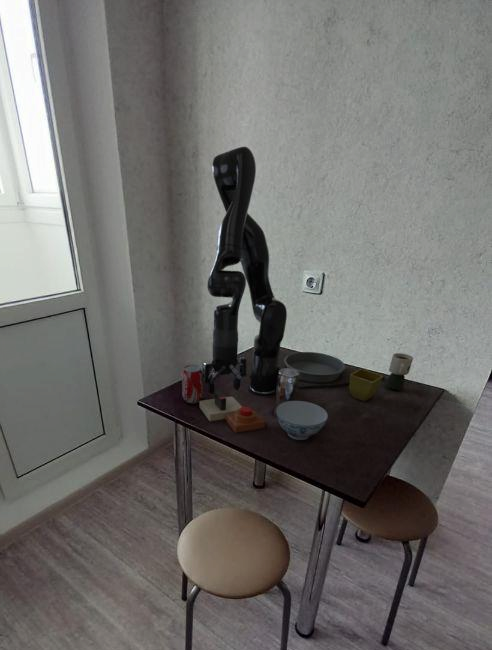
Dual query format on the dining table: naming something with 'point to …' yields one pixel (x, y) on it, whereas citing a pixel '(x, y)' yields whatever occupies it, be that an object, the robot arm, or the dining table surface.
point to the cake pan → (315, 366)
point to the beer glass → (286, 386)
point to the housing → (244, 421)
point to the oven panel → (214, 412)
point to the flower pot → (364, 384)
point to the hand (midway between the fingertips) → (224, 391)
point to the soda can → (192, 384)
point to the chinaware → (301, 418)
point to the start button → (245, 411)
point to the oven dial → (220, 401)
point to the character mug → (398, 370)
